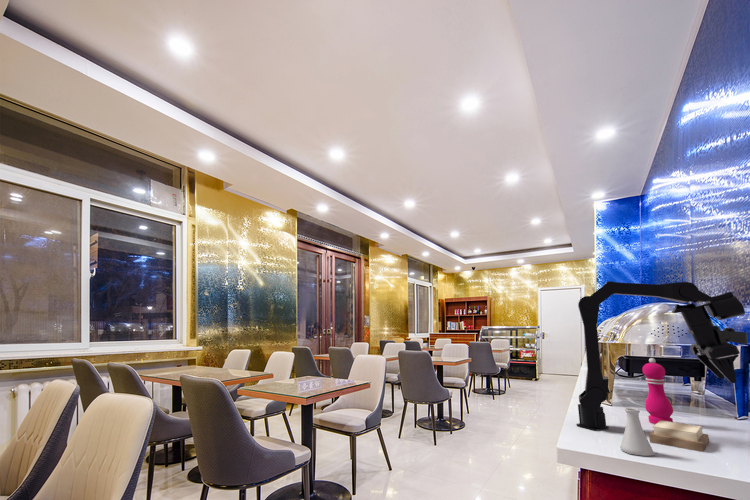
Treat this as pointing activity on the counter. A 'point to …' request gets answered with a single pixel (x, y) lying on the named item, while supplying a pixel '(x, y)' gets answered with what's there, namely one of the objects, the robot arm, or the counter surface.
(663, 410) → the pepper mill
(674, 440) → the tower base
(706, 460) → the counter surface
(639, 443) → the flask
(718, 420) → the counter surface
